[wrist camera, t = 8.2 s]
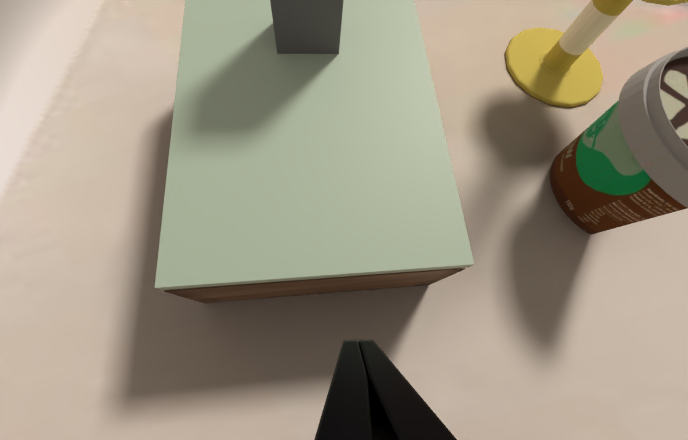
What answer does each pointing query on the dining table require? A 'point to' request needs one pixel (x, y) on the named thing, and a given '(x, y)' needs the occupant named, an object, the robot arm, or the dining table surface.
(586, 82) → the candle
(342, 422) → the robot arm
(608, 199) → the food container
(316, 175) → the lid
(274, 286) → the walnut box
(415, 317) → the dining table surface
